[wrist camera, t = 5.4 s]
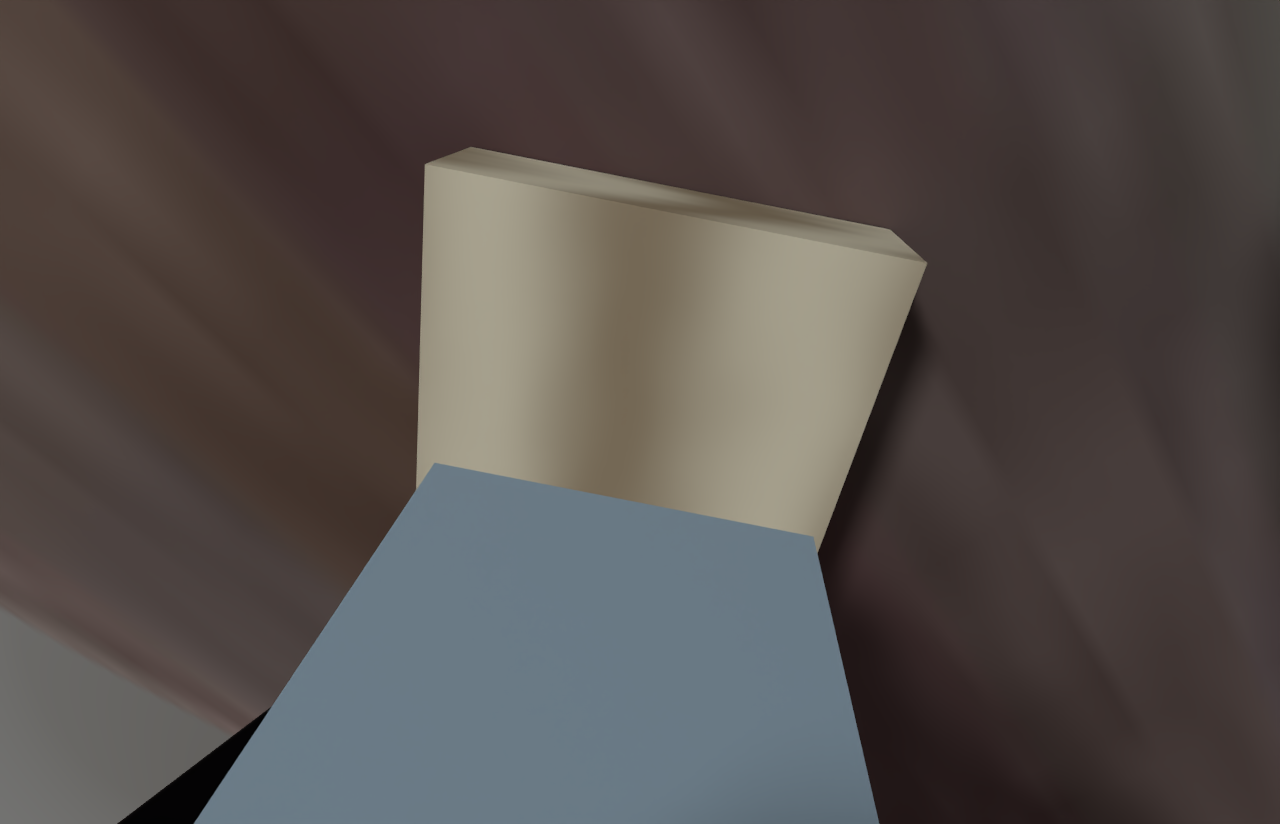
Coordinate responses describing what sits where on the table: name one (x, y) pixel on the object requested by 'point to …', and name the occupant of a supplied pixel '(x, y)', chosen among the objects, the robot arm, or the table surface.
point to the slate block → (563, 675)
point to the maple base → (651, 339)
